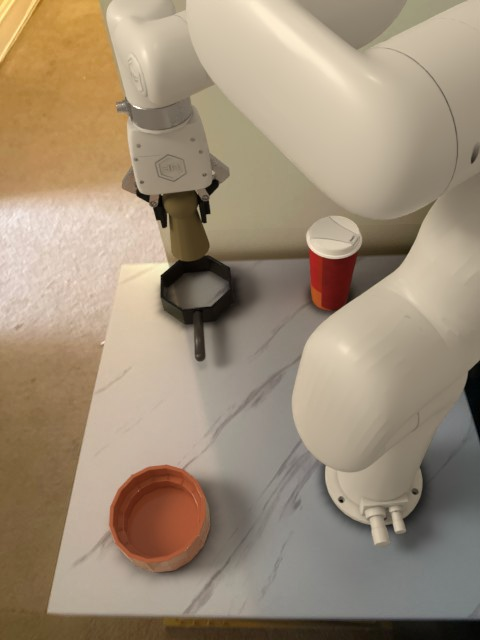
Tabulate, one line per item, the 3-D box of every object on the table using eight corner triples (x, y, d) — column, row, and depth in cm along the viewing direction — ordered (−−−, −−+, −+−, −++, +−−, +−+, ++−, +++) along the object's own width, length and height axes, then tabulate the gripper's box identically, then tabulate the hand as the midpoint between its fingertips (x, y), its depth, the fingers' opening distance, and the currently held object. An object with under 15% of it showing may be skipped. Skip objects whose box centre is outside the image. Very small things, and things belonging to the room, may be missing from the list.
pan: (240, 365, 88) (239, 353, 85) (164, 374, 88) (160, 362, 85) (230, 266, 101) (228, 252, 98) (164, 273, 101) (160, 260, 98)
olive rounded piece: (189, 228, 90) (177, 171, 81) (217, 243, 87) (208, 186, 78) (163, 250, 87) (147, 194, 79) (191, 267, 84) (179, 210, 76)
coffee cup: (362, 289, 95) (372, 223, 83) (340, 323, 91) (348, 259, 79) (317, 272, 98) (321, 206, 87) (295, 304, 94) (295, 239, 83)
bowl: (212, 567, 70) (208, 556, 66) (116, 578, 70) (106, 567, 66) (207, 475, 77) (203, 460, 73) (121, 484, 77) (112, 470, 73)
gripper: (88, 132, 66) (125, 244, 80) (232, 114, 66) (244, 229, 80) (93, 98, 71) (128, 209, 85) (227, 81, 71) (240, 196, 85)
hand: (184, 218), depth 82 cm, fingers closed on olive rounded piece, 5 cm apart
